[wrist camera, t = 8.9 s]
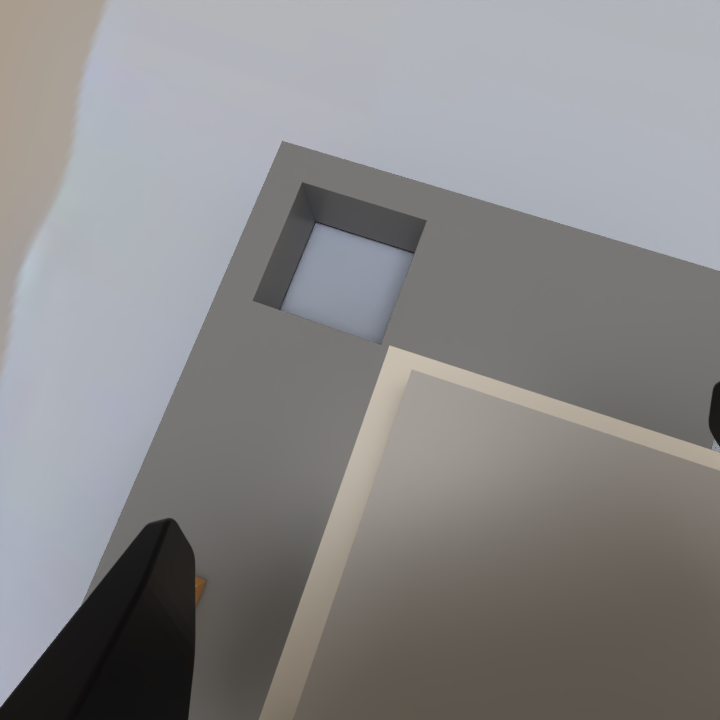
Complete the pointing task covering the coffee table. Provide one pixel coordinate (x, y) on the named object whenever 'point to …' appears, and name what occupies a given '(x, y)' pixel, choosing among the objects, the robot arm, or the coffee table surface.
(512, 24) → the coffee table surface
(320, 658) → the plug
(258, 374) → the socket board
